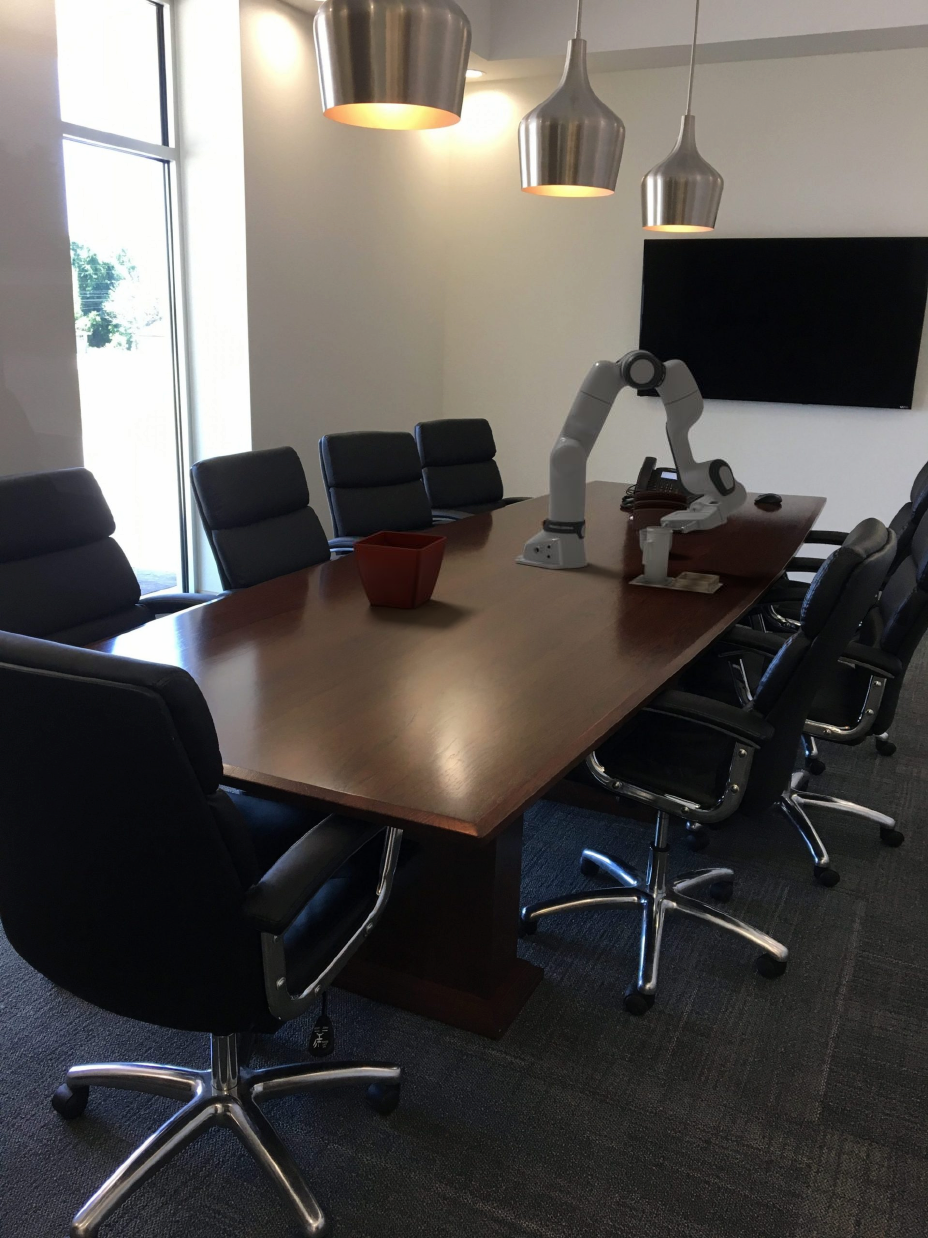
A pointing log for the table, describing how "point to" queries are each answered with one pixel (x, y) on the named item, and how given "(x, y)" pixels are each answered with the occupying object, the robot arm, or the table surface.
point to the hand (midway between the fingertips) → (671, 530)
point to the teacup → (644, 538)
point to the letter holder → (656, 508)
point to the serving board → (685, 582)
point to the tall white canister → (656, 554)
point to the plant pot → (399, 567)
